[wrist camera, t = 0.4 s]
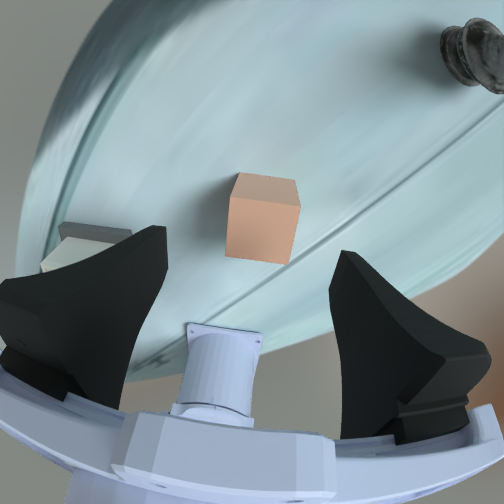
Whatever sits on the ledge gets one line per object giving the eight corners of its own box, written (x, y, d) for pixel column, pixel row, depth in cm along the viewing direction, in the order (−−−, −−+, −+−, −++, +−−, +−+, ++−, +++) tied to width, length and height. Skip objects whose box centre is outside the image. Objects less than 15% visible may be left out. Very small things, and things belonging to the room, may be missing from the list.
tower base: (140, 298, 27) (120, 338, 22) (79, 285, 27) (55, 318, 22) (131, 230, 23) (100, 266, 18) (63, 221, 23) (29, 252, 18)
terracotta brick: (285, 228, 22) (288, 264, 18) (234, 221, 22) (225, 256, 18) (294, 180, 20) (300, 206, 16) (239, 172, 20) (229, 196, 16)
